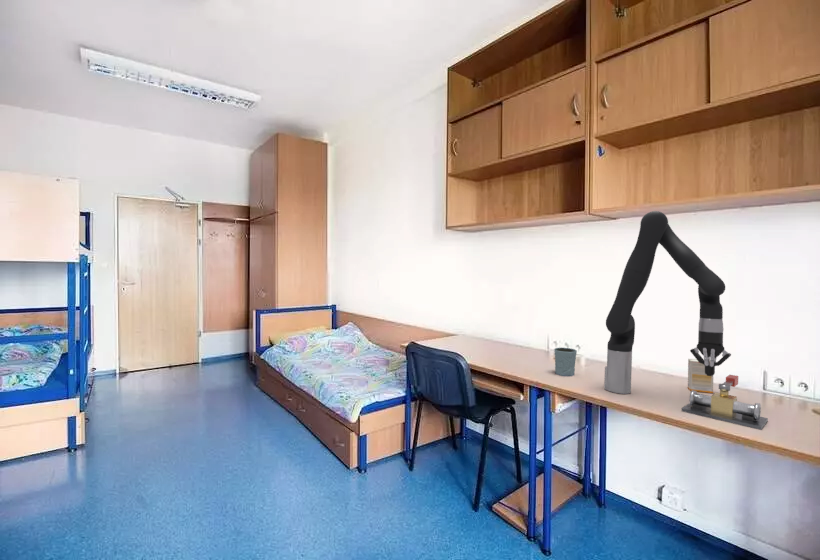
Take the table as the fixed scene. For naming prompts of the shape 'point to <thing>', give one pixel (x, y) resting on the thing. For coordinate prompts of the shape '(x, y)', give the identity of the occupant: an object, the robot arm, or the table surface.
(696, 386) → the supplement box
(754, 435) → the table surface
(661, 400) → the table surface
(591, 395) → the table surface
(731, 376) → the valve lever
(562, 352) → the grey-green tapered cup
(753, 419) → the valve body
